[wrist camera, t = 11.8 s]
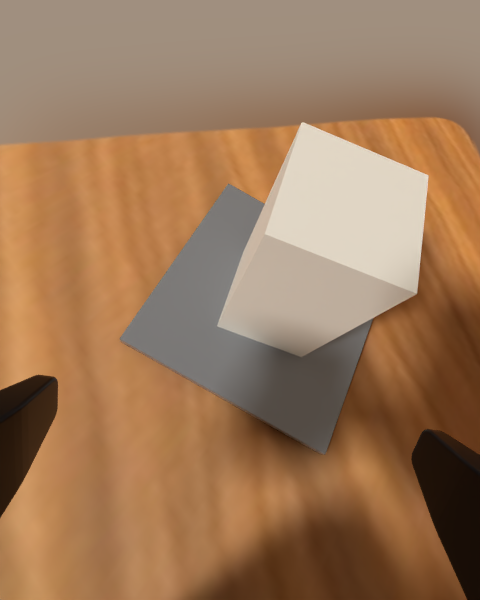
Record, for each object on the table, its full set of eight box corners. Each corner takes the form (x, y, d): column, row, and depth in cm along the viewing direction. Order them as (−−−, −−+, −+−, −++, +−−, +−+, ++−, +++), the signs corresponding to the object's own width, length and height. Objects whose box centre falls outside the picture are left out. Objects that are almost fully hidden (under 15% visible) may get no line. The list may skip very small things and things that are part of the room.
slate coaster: (383, 278, 23) (388, 274, 22) (320, 454, 18) (325, 454, 18) (226, 189, 23) (228, 183, 22) (120, 341, 18) (119, 338, 17)
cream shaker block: (301, 357, 19) (417, 293, 10) (216, 326, 19) (264, 233, 10) (318, 281, 21) (428, 175, 13) (243, 251, 21) (301, 121, 12)
